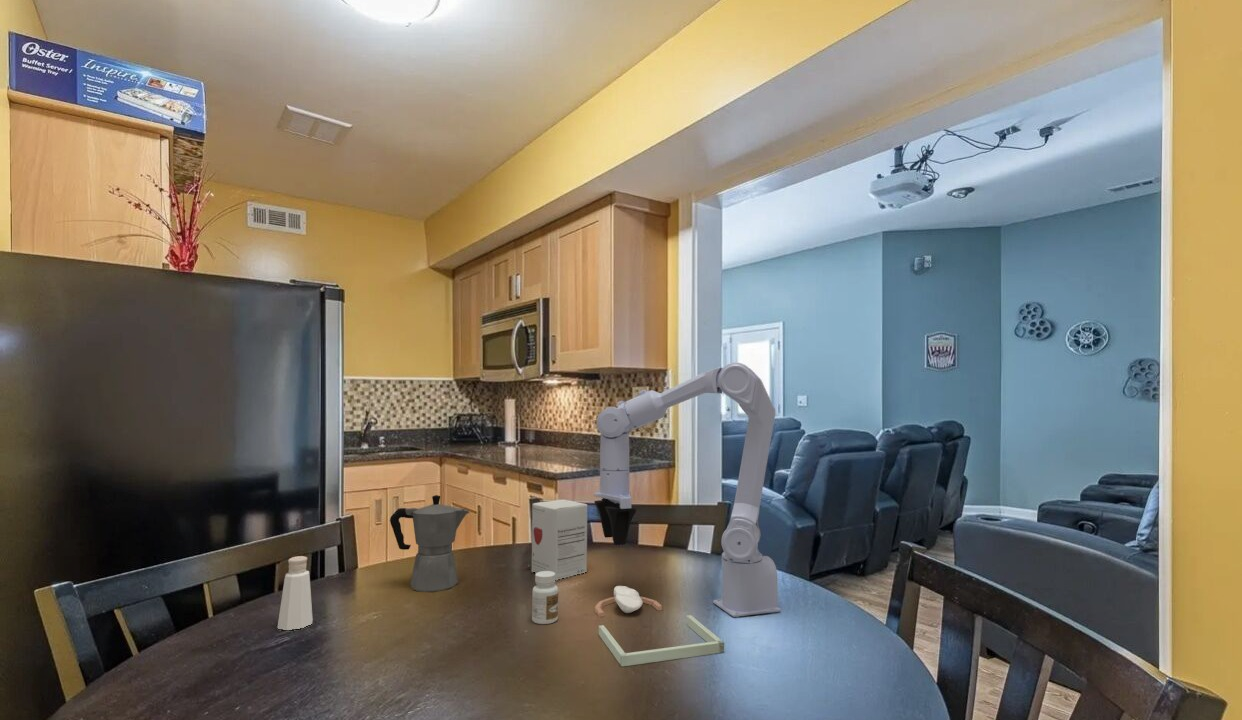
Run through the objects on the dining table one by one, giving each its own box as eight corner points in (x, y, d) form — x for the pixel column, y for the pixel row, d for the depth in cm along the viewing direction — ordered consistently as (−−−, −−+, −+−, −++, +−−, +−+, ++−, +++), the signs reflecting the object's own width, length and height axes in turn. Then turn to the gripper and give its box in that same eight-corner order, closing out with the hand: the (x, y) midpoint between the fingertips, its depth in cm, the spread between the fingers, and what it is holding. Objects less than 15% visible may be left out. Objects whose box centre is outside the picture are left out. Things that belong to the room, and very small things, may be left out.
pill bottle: (553, 625, 98) (553, 578, 99) (528, 623, 99) (528, 576, 100) (561, 616, 103) (561, 570, 103) (537, 614, 103) (537, 569, 104)
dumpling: (612, 604, 109) (612, 582, 109) (641, 604, 109) (641, 582, 109) (615, 618, 102) (615, 595, 102) (645, 618, 102) (645, 594, 102)
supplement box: (529, 572, 129) (530, 502, 130) (562, 564, 135) (563, 498, 136) (554, 581, 123) (555, 508, 124) (588, 573, 129) (588, 503, 130)
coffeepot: (468, 576, 126) (470, 490, 127) (467, 590, 117) (468, 497, 118) (391, 581, 123) (394, 493, 124) (384, 595, 114) (386, 500, 115)
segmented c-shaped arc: (647, 597, 113) (647, 593, 113) (661, 610, 106) (661, 605, 106) (588, 603, 109) (588, 599, 109) (599, 617, 102) (599, 612, 102)
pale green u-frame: (690, 623, 99) (690, 614, 99) (724, 652, 88) (724, 642, 88) (598, 634, 94) (598, 625, 95) (621, 666, 83) (621, 656, 83)
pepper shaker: (318, 625, 98) (321, 557, 99) (282, 634, 94) (285, 563, 95) (306, 617, 102) (309, 552, 103) (271, 625, 98) (274, 557, 99)
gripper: (585, 466, 121) (585, 533, 120) (605, 474, 107) (605, 551, 106) (618, 465, 123) (618, 531, 122) (642, 473, 109) (642, 548, 108)
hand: (614, 540), depth 114 cm, fingers open, 6 cm apart
